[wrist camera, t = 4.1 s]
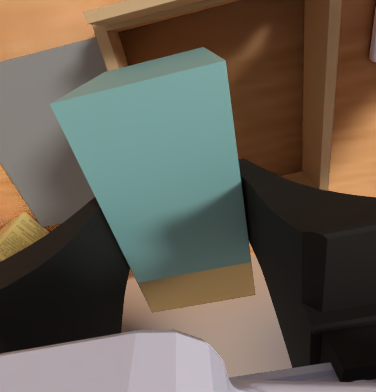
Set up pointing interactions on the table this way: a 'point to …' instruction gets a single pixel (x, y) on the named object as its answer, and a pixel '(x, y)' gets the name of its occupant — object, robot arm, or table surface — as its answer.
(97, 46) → the slate mat
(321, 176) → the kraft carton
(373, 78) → the table surface
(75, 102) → the teal box
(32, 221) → the candy box
